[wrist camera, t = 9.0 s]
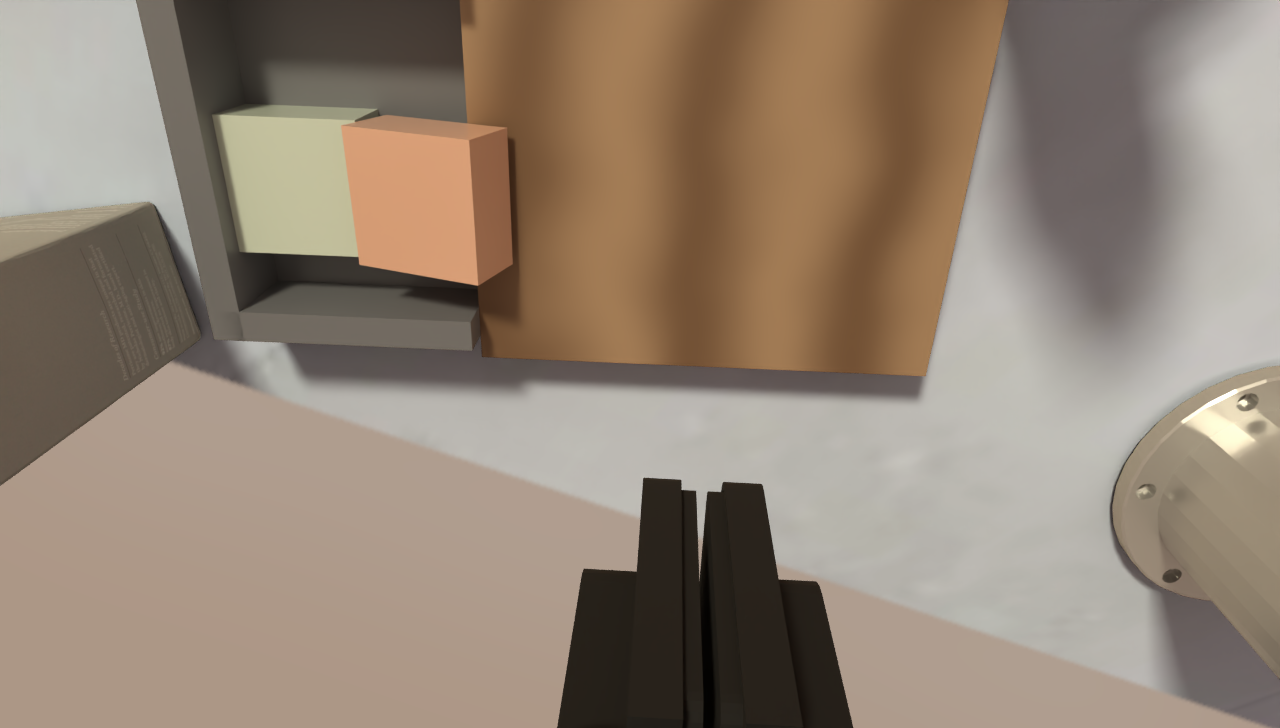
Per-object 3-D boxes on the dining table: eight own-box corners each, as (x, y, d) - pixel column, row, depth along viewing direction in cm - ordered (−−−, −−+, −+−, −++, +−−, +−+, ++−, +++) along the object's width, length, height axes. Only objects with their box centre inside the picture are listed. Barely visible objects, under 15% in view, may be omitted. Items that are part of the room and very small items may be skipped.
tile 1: (377, 108, 30) (354, 120, 27) (392, 237, 32) (371, 257, 30) (246, 103, 30) (211, 114, 27) (269, 232, 32) (239, 251, 30)
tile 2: (507, 127, 27) (469, 140, 25) (512, 264, 30) (478, 285, 28) (386, 114, 29) (341, 125, 27) (400, 245, 31) (359, 264, 29)
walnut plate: (982, -8, 28) (1010, -6, 26) (908, 349, 34) (925, 376, 32) (474, -28, 28) (457, -27, 26) (493, 331, 34) (481, 357, 32)
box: (472, -59, 28) (444, -64, 24) (492, 310, 34) (472, 350, 30) (189, -70, 28) (118, -76, 24) (261, 300, 34) (214, 339, 30)
